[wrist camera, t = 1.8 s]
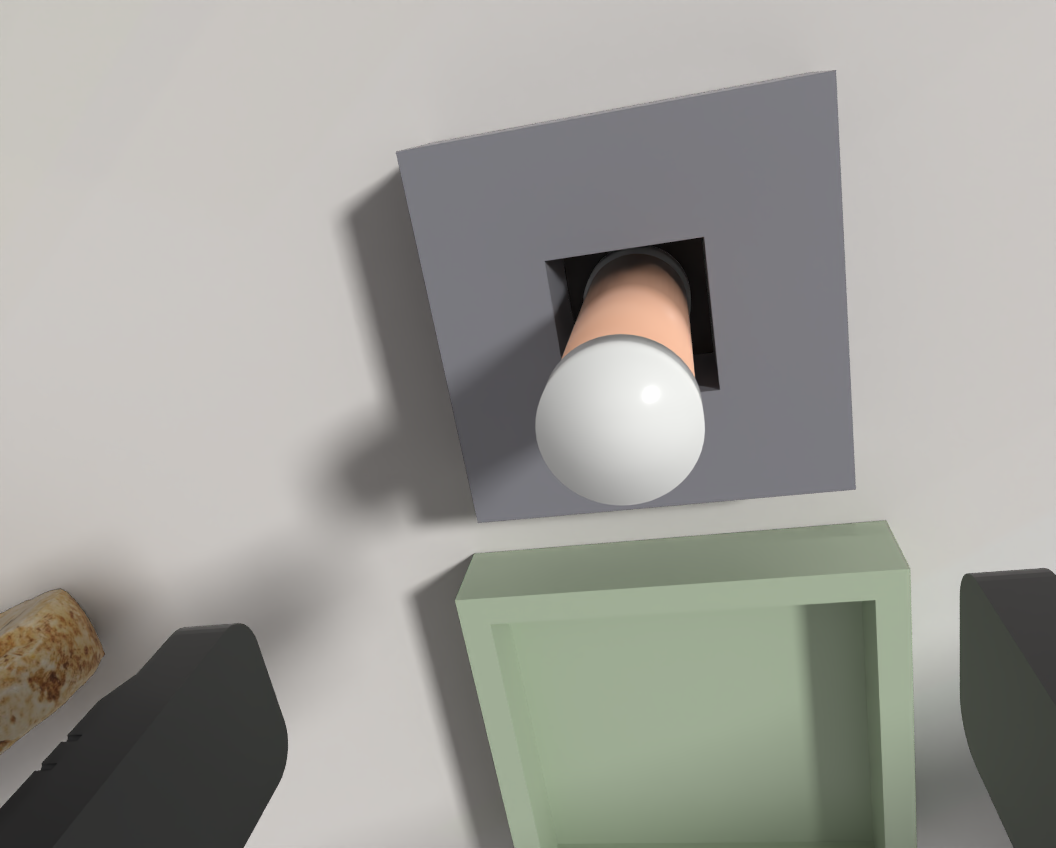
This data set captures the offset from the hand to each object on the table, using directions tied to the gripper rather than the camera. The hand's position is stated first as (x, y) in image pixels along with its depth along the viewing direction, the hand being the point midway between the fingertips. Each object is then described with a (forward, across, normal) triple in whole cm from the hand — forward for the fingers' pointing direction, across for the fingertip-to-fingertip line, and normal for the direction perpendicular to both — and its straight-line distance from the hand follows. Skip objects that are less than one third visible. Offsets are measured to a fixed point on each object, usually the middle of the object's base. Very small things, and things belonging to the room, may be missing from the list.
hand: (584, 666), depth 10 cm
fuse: (+18, 0, 0) cm, 18 cm away
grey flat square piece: (+18, 0, 0) cm, 18 cm away
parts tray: (+18, 0, +16) cm, 24 cm away
